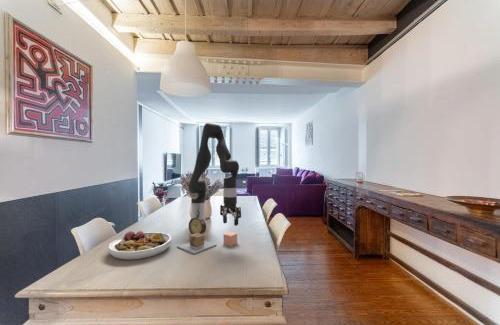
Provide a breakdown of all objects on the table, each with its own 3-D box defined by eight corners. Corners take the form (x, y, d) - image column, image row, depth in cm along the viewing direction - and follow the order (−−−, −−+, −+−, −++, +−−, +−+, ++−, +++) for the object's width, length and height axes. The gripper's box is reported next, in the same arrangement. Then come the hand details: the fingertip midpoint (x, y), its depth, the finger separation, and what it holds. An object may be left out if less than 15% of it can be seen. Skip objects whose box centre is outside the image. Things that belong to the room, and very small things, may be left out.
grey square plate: (177, 247, 130) (177, 245, 130) (199, 240, 142) (199, 238, 142) (194, 254, 121) (194, 252, 121) (216, 245, 132) (216, 244, 132)
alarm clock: (188, 236, 148) (187, 210, 148) (194, 234, 153) (193, 208, 153) (202, 239, 143) (201, 212, 143) (207, 236, 148) (207, 210, 148)
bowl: (182, 247, 132) (182, 232, 132) (129, 268, 107) (128, 250, 107) (150, 237, 149) (150, 224, 148) (97, 253, 124) (97, 238, 124)
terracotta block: (223, 243, 136) (223, 234, 135) (230, 241, 140) (230, 231, 140) (230, 246, 132) (230, 236, 132) (237, 243, 136) (237, 233, 136)
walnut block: (189, 245, 131) (189, 235, 131) (197, 242, 135) (197, 232, 135) (196, 247, 127) (196, 237, 127) (204, 244, 132) (204, 234, 132)
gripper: (243, 195, 134) (244, 224, 134) (225, 193, 143) (226, 220, 143) (234, 197, 128) (235, 227, 128) (216, 195, 137) (217, 223, 137)
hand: (230, 224), depth 136 cm, fingers open, 8 cm apart
